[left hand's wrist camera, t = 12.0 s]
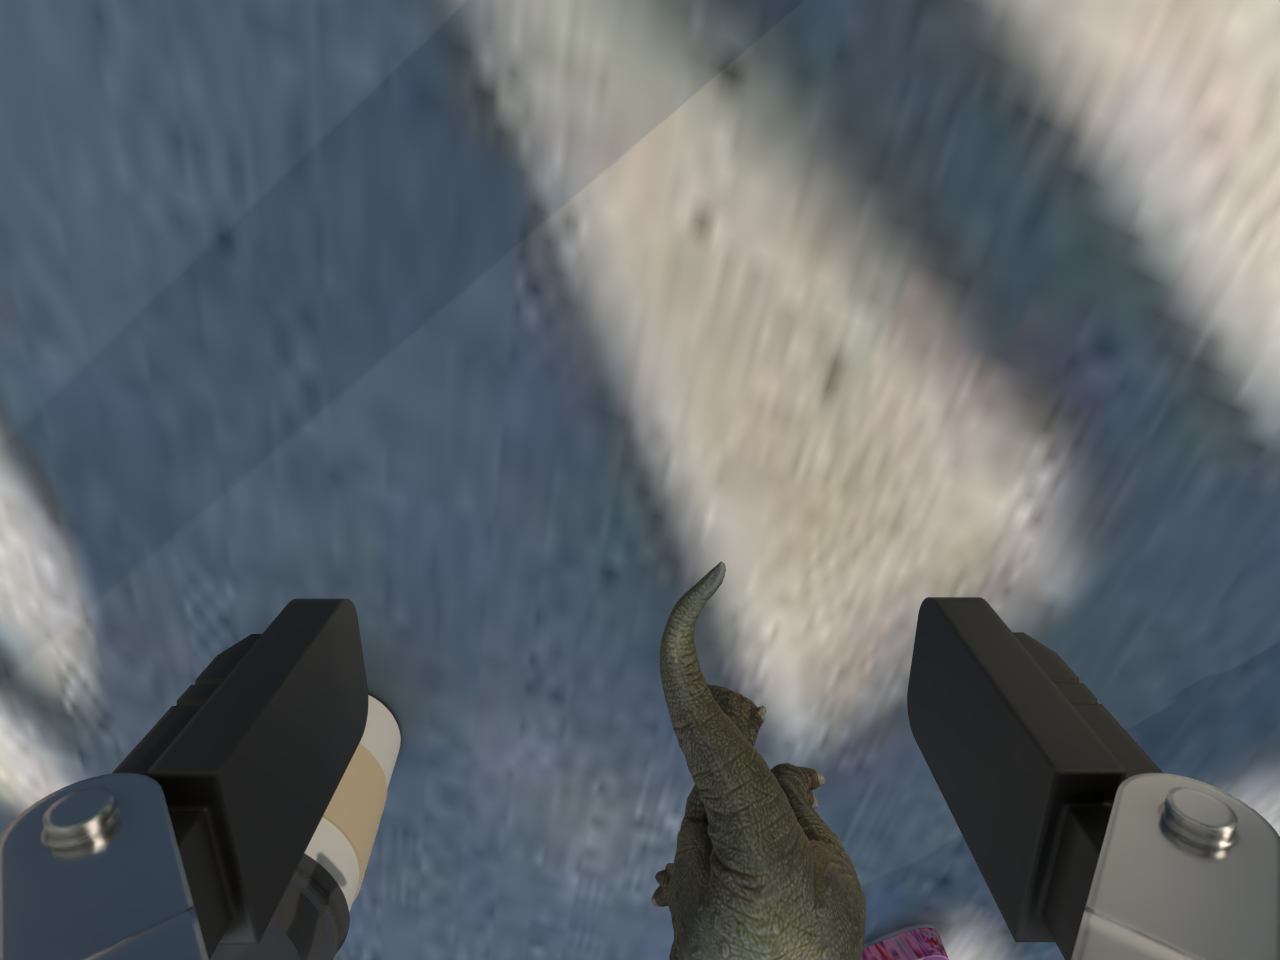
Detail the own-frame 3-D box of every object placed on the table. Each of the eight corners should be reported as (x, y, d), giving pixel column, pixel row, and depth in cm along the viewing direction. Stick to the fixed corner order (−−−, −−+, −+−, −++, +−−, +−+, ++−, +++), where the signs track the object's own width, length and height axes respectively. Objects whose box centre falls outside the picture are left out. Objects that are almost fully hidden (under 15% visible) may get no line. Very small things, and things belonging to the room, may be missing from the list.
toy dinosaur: (674, 500, 24) (690, 749, 14) (944, 537, 24) (1164, 811, 14) (588, 996, 32) (556, 1397, 21) (793, 1020, 32) (861, 1427, 22)
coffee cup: (310, 807, 50) (183, 1048, 36) (244, 693, 47) (77, 908, 33) (441, 773, 49) (363, 1007, 35) (383, 655, 46) (271, 859, 32)
